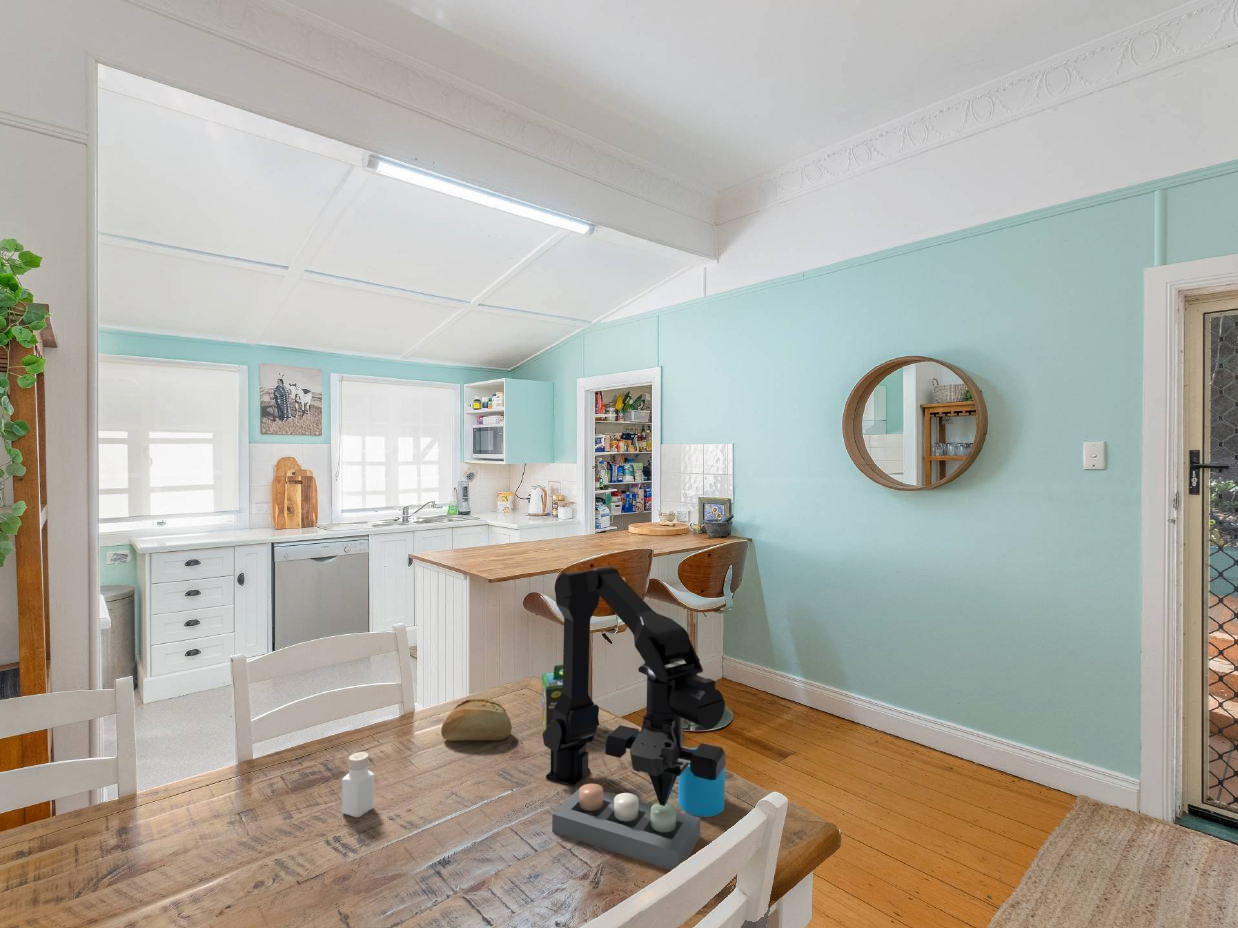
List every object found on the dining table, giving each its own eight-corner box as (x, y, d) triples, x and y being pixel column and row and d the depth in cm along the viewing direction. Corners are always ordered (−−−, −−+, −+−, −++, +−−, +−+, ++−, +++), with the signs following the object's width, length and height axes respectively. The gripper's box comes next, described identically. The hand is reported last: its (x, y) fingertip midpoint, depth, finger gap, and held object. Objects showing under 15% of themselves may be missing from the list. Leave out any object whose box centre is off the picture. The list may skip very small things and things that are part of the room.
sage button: (646, 827, 98) (646, 812, 98) (656, 815, 102) (656, 800, 102) (670, 834, 97) (670, 819, 97) (679, 821, 100) (679, 806, 100)
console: (552, 832, 103) (552, 813, 103) (582, 802, 112) (582, 785, 112) (678, 872, 93) (678, 852, 93) (700, 836, 102) (700, 818, 102)
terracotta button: (574, 806, 104) (575, 792, 104) (586, 795, 108) (586, 781, 108) (596, 813, 102) (596, 798, 102) (607, 801, 106) (607, 787, 106)
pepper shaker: (375, 808, 109) (376, 753, 109) (357, 819, 105) (357, 763, 105) (358, 802, 111) (359, 748, 111) (340, 814, 107) (340, 758, 107)
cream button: (609, 817, 101) (609, 802, 101) (620, 805, 105) (620, 790, 105) (632, 823, 100) (632, 808, 100) (642, 811, 103) (642, 796, 103)
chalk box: (579, 718, 148) (580, 655, 148) (586, 734, 139) (587, 668, 139) (540, 721, 146) (541, 658, 146) (545, 738, 137) (545, 671, 137)
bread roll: (443, 731, 140) (443, 695, 140) (511, 726, 143) (511, 691, 143) (439, 750, 131) (439, 712, 131) (511, 745, 133) (512, 708, 133)
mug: (730, 815, 108) (730, 768, 108) (684, 818, 107) (684, 770, 107) (711, 780, 120) (712, 737, 120) (669, 782, 119) (670, 739, 119)
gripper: (588, 713, 96) (587, 814, 96) (705, 739, 88) (703, 849, 88) (620, 690, 106) (618, 781, 106) (727, 710, 98) (725, 810, 98)
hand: (663, 804), depth 99 cm, fingers closed
